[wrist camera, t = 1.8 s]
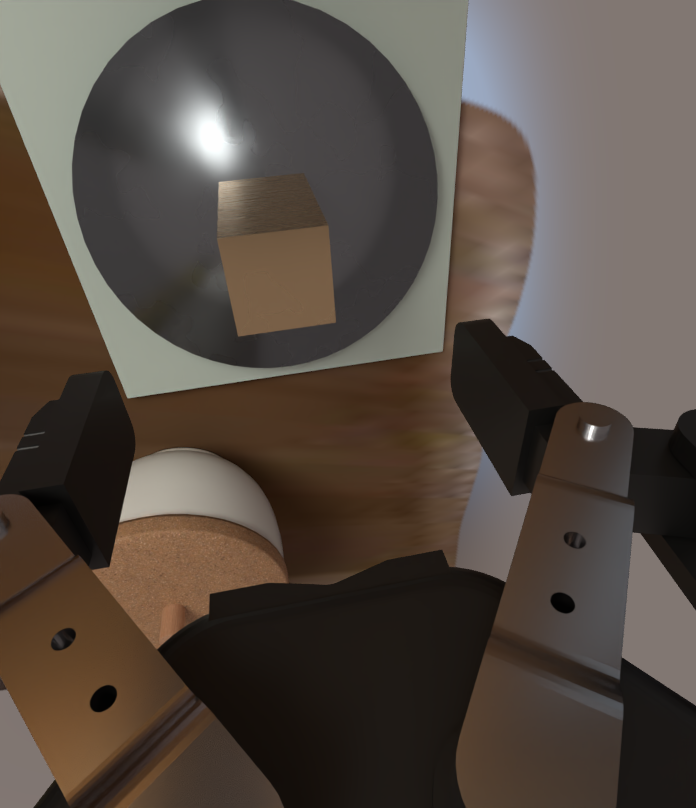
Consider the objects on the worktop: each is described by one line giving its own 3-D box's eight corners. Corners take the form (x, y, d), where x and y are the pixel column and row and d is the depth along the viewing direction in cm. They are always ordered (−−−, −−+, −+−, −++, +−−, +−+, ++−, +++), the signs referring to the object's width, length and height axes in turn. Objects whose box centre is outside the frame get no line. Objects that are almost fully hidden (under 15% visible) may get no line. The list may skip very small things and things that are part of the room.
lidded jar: (137, 562, 33) (112, 719, 26) (42, 446, 26) (-29, 614, 19) (297, 517, 33) (317, 660, 26) (244, 390, 27) (250, 536, 19)
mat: (-41, -30, 15) (-47, -31, 15) (468, -59, 17) (472, -61, 17) (128, 393, 25) (127, 398, 25) (440, 347, 27) (442, 351, 27)
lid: (5, 10, 16) (-105, 12, 11) (441, -19, 17) (535, -30, 12) (142, 378, 24) (120, 481, 19) (425, 336, 26) (476, 420, 21)
